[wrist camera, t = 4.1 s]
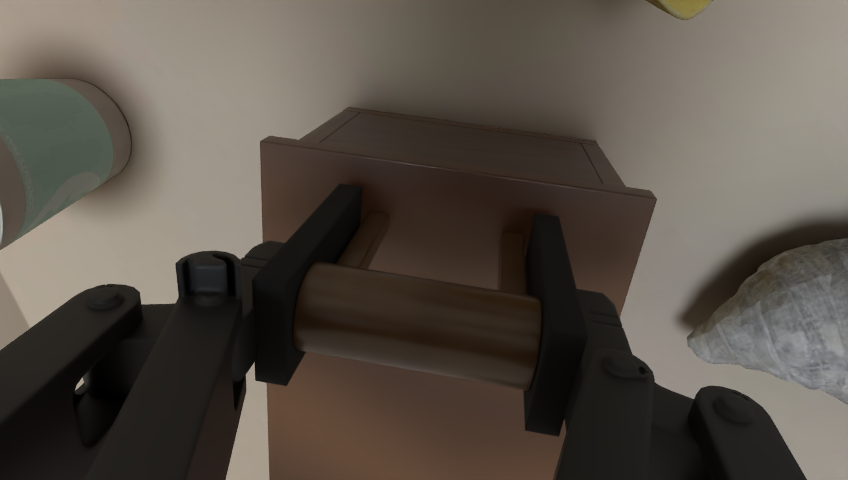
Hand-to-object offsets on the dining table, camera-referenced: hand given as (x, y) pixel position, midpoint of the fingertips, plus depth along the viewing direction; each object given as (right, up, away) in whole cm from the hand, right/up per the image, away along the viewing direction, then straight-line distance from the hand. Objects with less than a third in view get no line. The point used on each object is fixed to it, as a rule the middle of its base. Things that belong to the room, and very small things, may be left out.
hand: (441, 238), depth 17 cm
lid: (0, -5, +4) cm, 6 cm away
